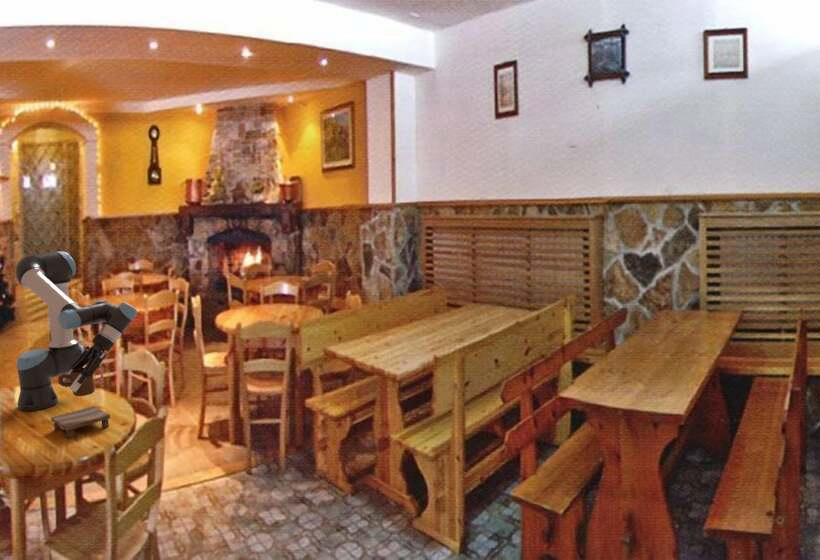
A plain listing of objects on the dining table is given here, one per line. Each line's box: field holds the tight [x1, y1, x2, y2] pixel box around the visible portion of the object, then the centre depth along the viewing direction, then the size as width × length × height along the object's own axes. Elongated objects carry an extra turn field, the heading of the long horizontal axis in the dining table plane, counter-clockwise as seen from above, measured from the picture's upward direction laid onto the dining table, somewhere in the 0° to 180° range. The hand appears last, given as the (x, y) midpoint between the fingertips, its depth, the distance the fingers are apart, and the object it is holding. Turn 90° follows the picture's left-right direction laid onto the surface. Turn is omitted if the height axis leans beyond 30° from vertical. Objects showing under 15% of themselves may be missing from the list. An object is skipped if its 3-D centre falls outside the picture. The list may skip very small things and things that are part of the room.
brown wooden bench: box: [50, 405, 111, 440], centre depth 252 cm, size 15×16×5 cm
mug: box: [57, 367, 95, 397], centre depth 250 cm, size 12×8×9 cm, turn 124°
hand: (67, 388), depth 247 cm, fingers closed on mug, 8 cm apart
